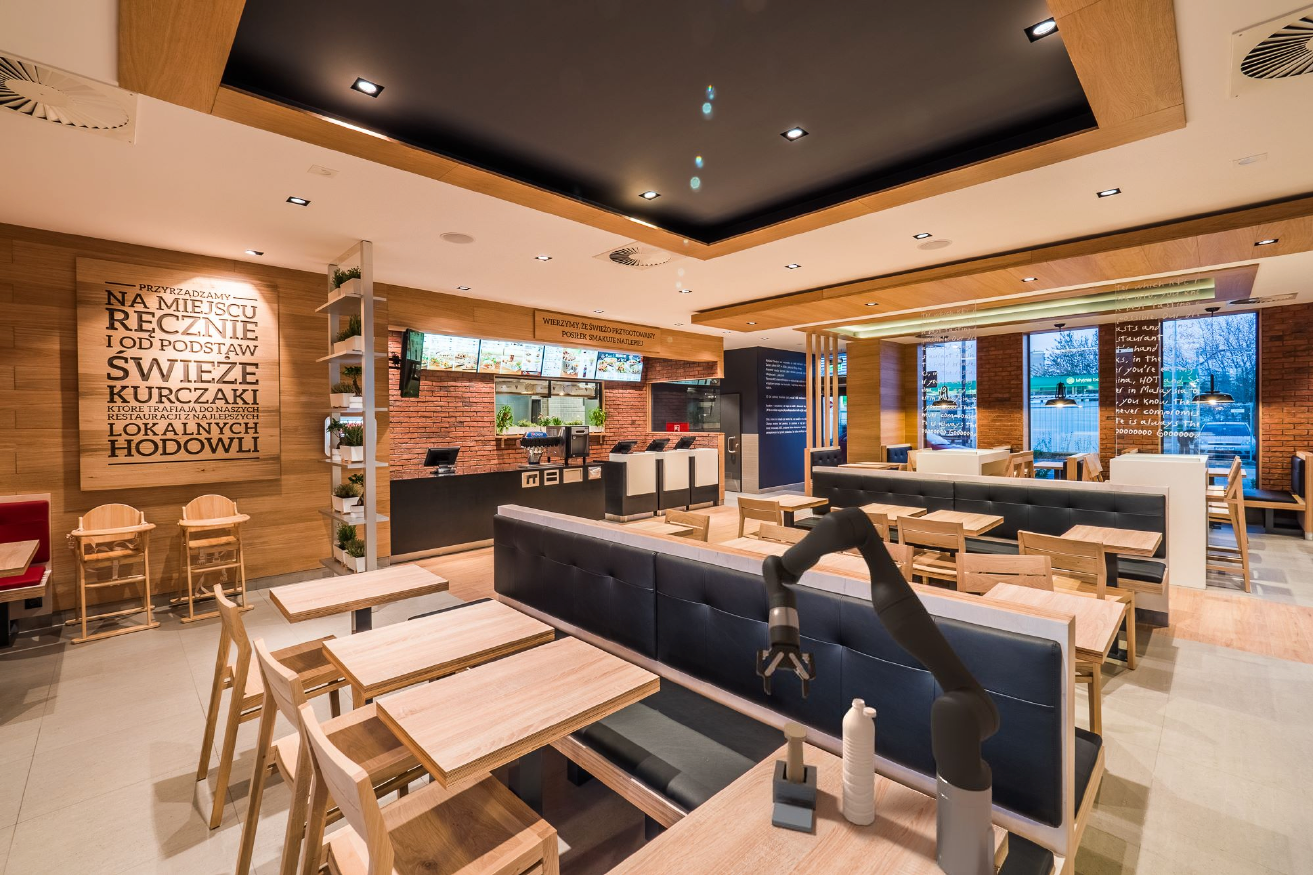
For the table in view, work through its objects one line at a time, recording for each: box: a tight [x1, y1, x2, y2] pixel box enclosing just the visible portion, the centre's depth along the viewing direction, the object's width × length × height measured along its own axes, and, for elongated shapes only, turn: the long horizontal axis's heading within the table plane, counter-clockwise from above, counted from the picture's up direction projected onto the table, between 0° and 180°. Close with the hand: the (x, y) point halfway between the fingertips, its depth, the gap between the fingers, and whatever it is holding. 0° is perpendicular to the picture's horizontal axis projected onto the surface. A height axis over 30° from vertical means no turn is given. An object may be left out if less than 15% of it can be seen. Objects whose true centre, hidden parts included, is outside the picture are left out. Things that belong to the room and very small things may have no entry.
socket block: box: [772, 759, 818, 811], centre depth 129 cm, size 9×8×5 cm
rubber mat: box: [771, 802, 813, 834], centre depth 121 cm, size 8×6×1 cm
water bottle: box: [841, 698, 877, 826], centre depth 121 cm, size 9×6×25 cm
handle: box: [783, 721, 808, 783], centre depth 129 cm, size 5×6×15 cm
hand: (786, 695), depth 137 cm, fingers open, 8 cm apart
